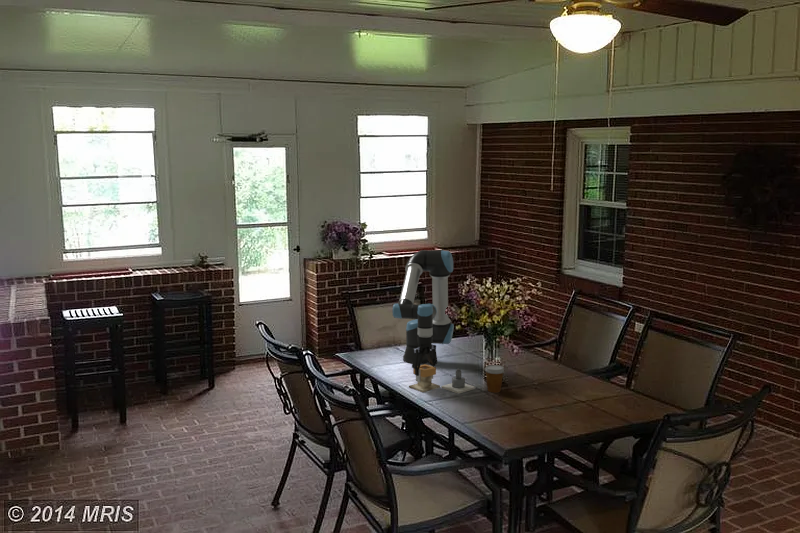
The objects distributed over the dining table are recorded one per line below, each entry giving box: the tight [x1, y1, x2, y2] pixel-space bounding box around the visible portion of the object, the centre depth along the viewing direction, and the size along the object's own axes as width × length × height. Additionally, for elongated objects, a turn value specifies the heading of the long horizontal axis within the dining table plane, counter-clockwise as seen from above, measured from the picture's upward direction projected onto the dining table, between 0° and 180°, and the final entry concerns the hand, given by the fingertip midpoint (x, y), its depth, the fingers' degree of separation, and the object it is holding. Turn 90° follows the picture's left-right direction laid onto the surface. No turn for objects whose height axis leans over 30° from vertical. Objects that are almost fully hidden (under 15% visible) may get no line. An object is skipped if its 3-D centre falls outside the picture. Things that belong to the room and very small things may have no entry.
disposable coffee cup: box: [484, 364, 505, 394], centre depth 364 cm, size 10×10×12 cm
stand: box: [408, 368, 441, 393], centre depth 368 cm, size 12×10×10 cm
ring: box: [412, 363, 437, 377], centre depth 368 cm, size 8×8×4 cm
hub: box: [440, 368, 476, 395], centre depth 367 cm, size 12×12×10 cm
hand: (424, 379), depth 368 cm, fingers closed on ring, 8 cm apart
